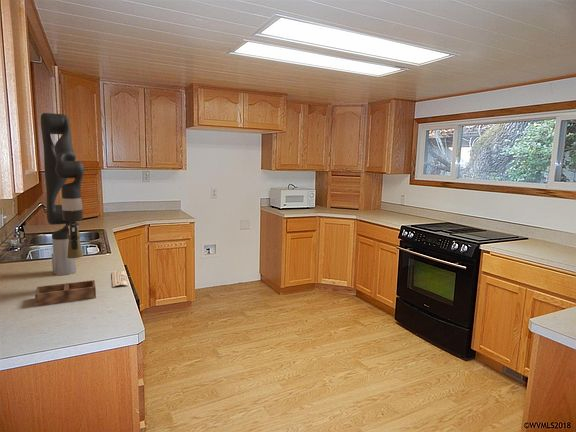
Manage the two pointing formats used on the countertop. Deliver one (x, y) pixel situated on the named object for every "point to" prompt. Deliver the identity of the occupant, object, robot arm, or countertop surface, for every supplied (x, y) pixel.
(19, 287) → the countertop surface
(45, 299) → the walnut caddy
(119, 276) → the newspaper
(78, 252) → the cork
